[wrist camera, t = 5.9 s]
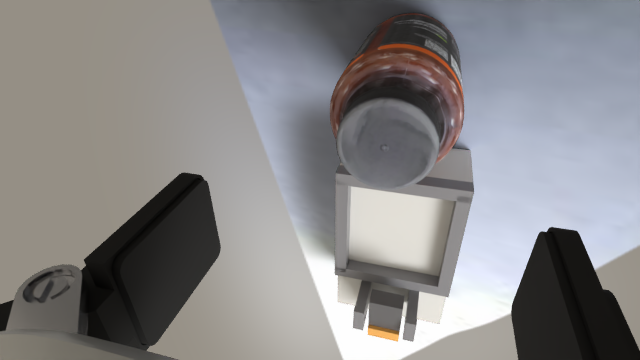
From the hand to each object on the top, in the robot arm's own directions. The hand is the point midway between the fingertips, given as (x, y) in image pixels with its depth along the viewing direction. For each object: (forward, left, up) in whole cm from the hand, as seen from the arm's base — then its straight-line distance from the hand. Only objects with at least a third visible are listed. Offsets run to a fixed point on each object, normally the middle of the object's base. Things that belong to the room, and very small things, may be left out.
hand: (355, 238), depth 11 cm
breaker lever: (+16, +1, -10) cm, 18 cm away
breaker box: (+12, +1, -16) cm, 20 cm away
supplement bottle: (0, 0, -16) cm, 16 cm away
